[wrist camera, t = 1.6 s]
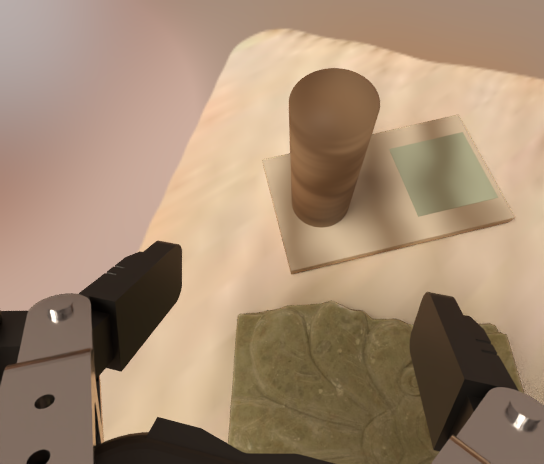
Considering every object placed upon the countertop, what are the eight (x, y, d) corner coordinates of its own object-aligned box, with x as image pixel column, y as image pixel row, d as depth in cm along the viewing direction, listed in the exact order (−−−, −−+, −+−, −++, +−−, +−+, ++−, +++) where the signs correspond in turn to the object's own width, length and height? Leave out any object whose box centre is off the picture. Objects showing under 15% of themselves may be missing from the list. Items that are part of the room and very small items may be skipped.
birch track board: (453, 121, 34) (458, 114, 33) (508, 222, 30) (515, 217, 29) (263, 165, 33) (262, 159, 32) (291, 274, 29) (291, 270, 28)
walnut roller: (339, 170, 31) (362, 60, 20) (356, 219, 30) (393, 127, 18) (285, 183, 31) (279, 79, 20) (299, 233, 29) (301, 148, 18)
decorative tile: (556, 627, 21) (606, 676, 17) (221, 606, 22) (208, 648, 19) (488, 308, 28) (514, 300, 24) (237, 307, 29) (230, 299, 26)
